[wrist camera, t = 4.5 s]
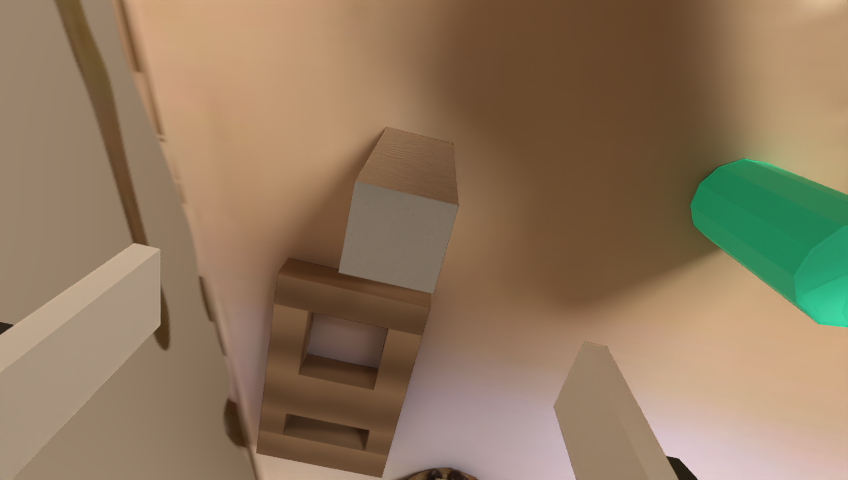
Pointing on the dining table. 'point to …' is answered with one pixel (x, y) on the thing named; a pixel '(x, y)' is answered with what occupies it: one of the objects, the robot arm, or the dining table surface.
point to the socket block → (337, 370)
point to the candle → (780, 233)
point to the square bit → (402, 212)
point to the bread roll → (442, 475)
